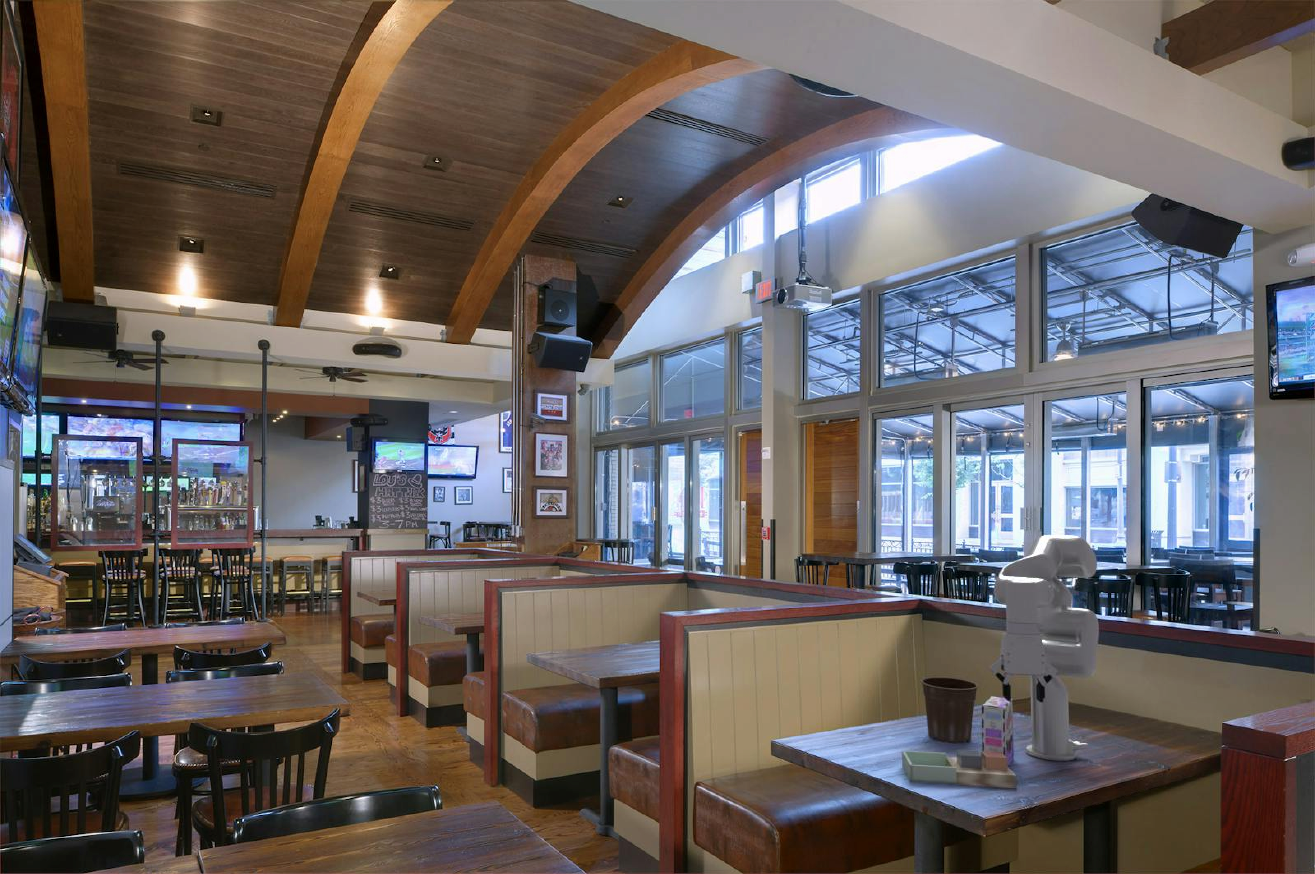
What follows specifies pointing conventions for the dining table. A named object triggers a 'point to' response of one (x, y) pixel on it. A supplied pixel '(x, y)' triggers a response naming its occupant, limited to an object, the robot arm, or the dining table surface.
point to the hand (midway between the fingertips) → (1023, 699)
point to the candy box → (998, 727)
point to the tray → (928, 767)
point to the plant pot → (949, 708)
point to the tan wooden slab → (982, 775)
